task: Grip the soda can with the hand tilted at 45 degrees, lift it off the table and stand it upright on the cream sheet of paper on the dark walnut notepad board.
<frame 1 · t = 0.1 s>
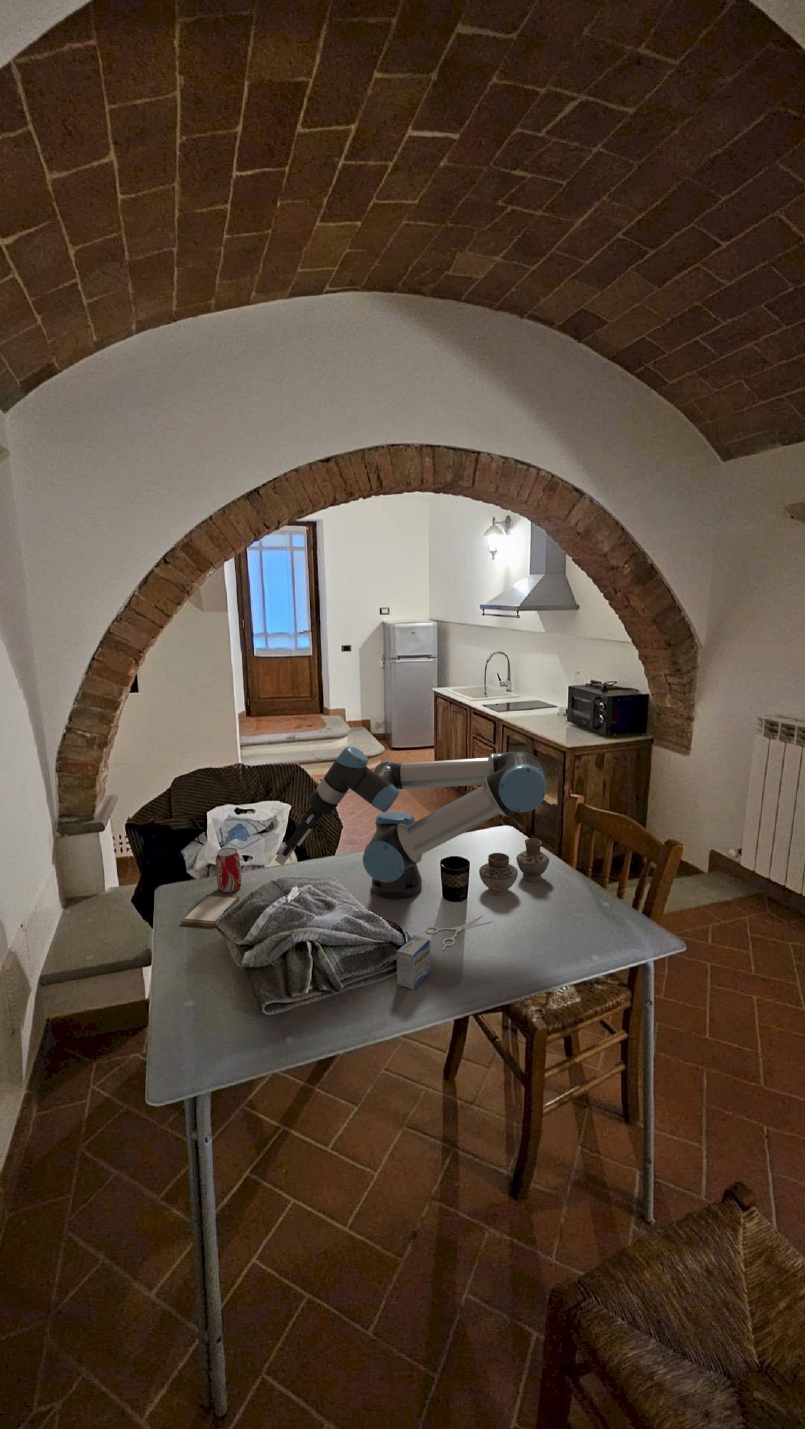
hand: (287, 852, 177), 15 cm above the table, tool tilted 35°, fingers open, 13 cm apart
scissors: (461, 931, 164), on the table
medicine box: (414, 979, 144), on the table
soda can: (229, 889, 189), on the table
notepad: (211, 911, 175), on the table
pottery: (514, 884, 189), on the table
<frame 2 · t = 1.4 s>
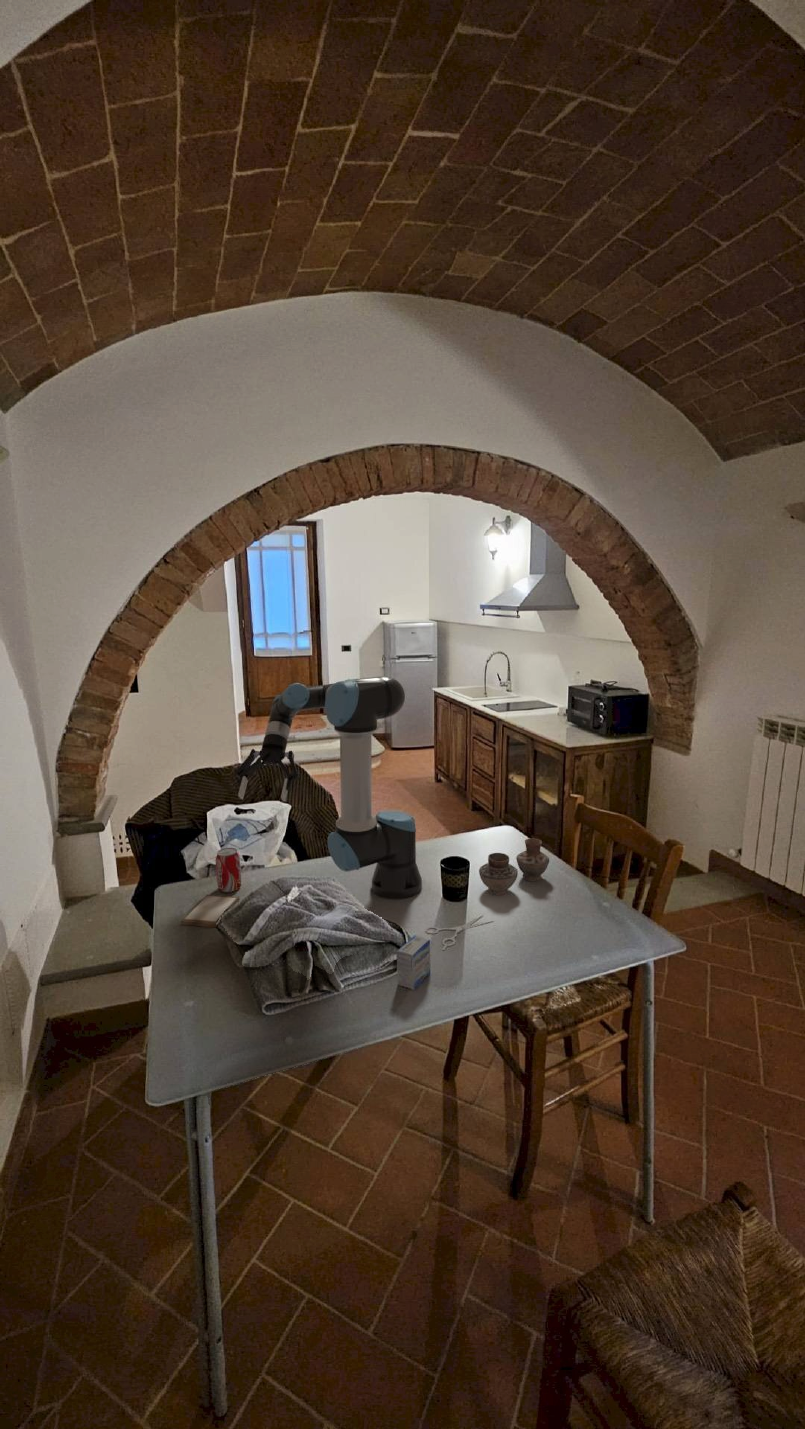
hand: (261, 798, 191), 26 cm above the table, tool tilted 45°, fingers open, 13 cm apart
nothing on the table moved.
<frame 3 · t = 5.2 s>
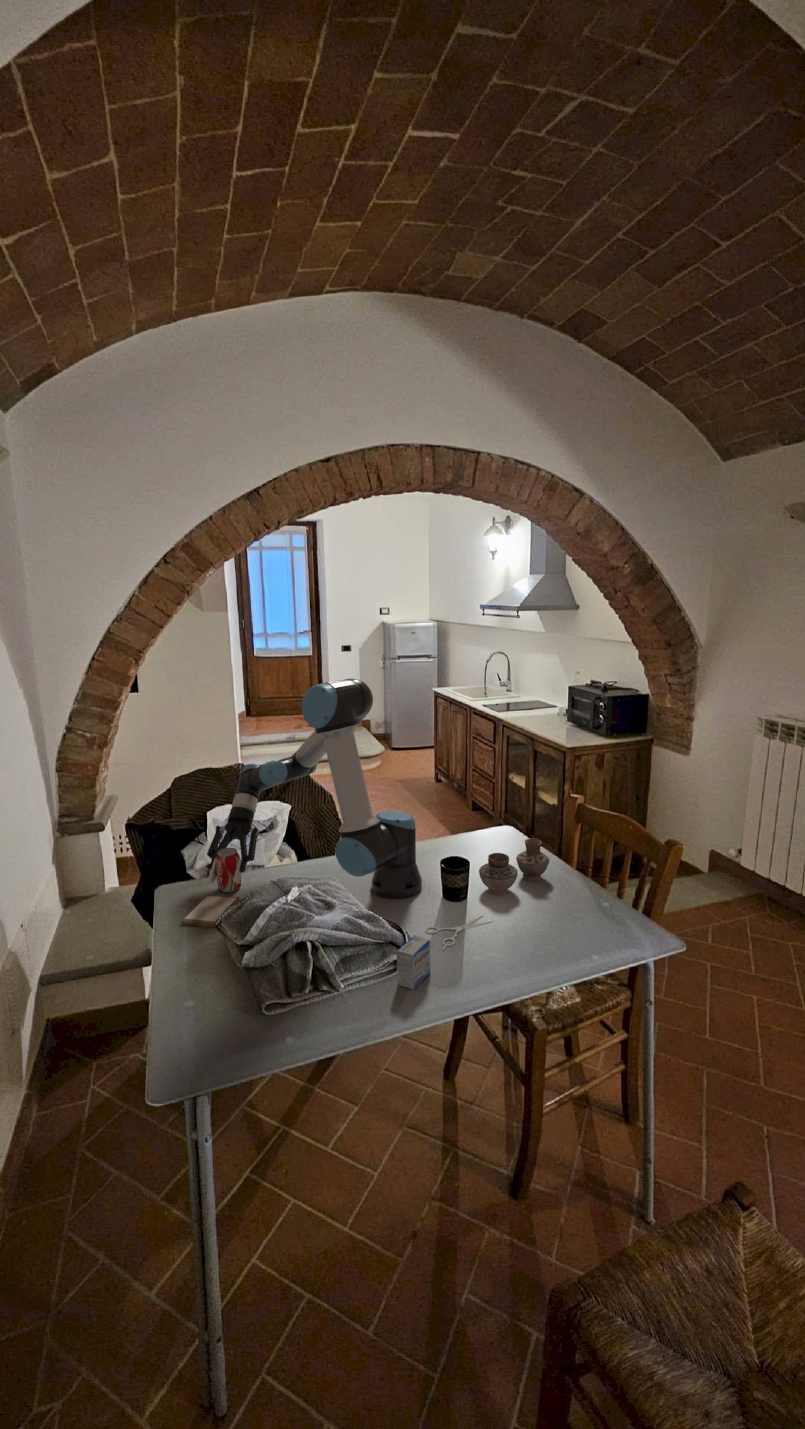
hand: (223, 881, 185), 4 cm above the table, tool tilted 45°, fingers closed on soda can, 7 cm apart
soda can: (229, 889, 189), on the table, touching gripper
everything else where it was.
when the fingers open (6 cm above the table, at t = 9.5 s): soda can drops 1 cm, resting on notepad.
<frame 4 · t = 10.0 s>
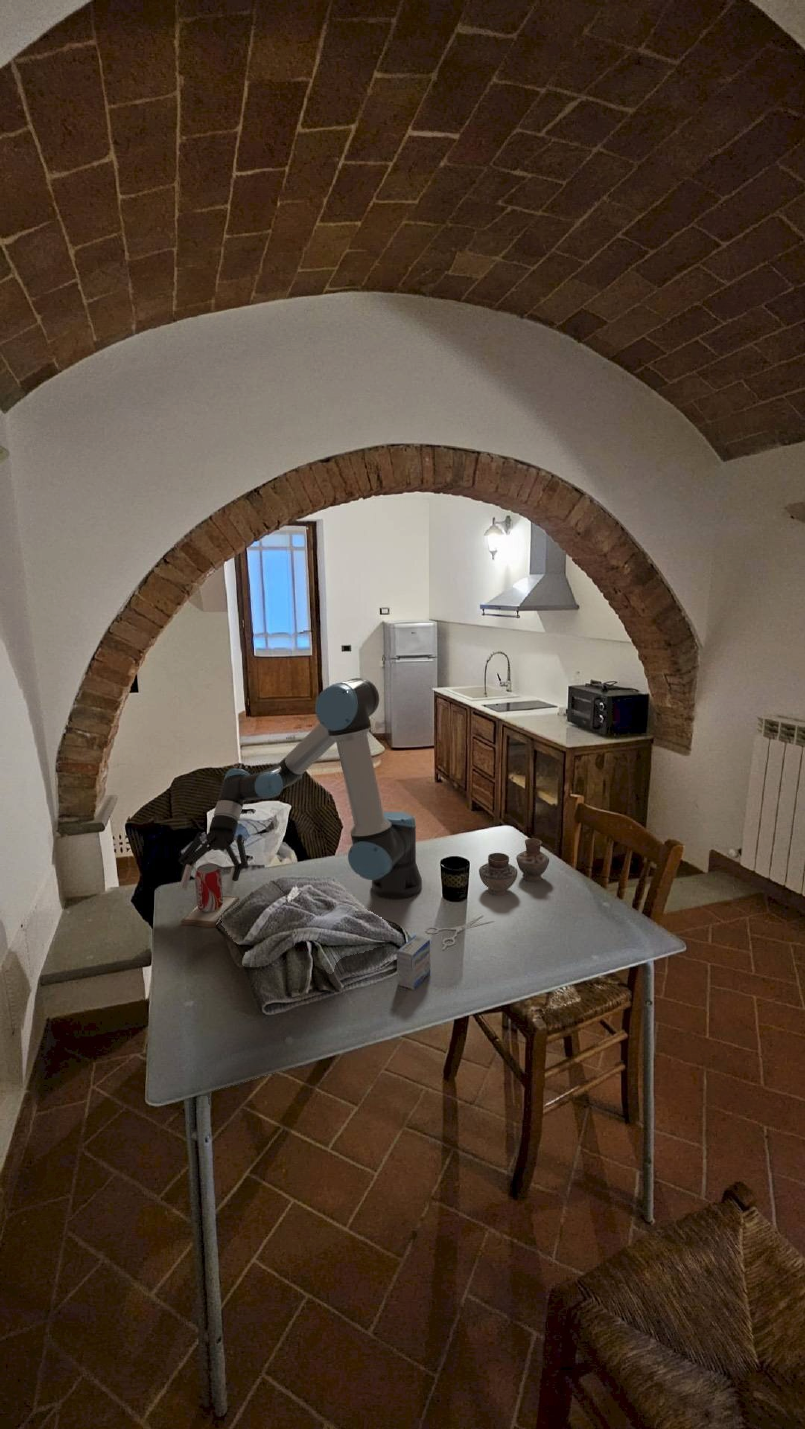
hand: (205, 890, 171), 8 cm above the table, tool tilted 45°, fingers open, 13 cm apart
soda can: (210, 908, 175), point 1 cm above the table, touching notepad
everything else where it was.
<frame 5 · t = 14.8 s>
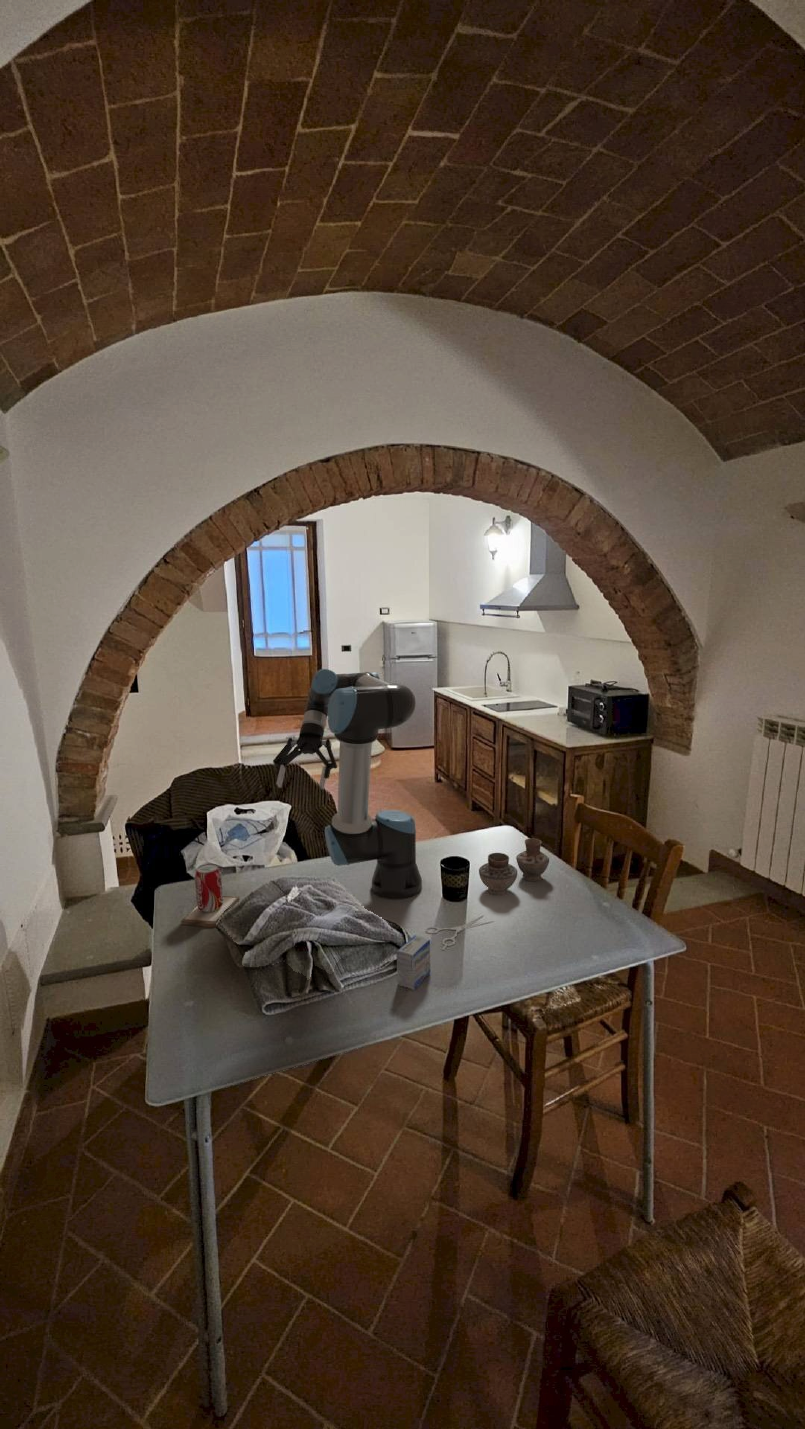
hand: (299, 786, 190), 30 cm above the table, tool tilted 45°, fingers open, 13 cm apart
nothing on the table moved.
at the end: soda can 0.2 cm off-centre on the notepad, point 1.0 cm above the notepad's base; soda can tilted 0°; the gripper is holding nothing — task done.
